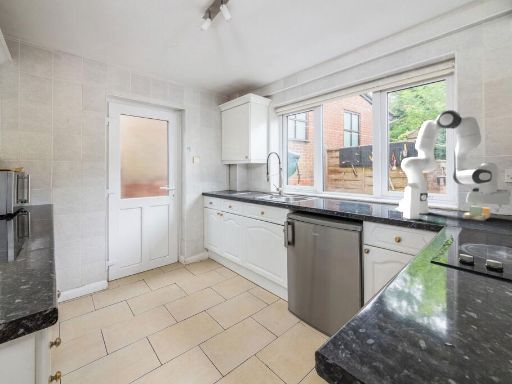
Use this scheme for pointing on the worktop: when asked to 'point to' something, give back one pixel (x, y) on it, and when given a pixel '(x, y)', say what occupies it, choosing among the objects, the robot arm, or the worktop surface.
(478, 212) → the sage block
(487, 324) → the worktop surface
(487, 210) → the orange block
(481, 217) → the base board
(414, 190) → the milk
